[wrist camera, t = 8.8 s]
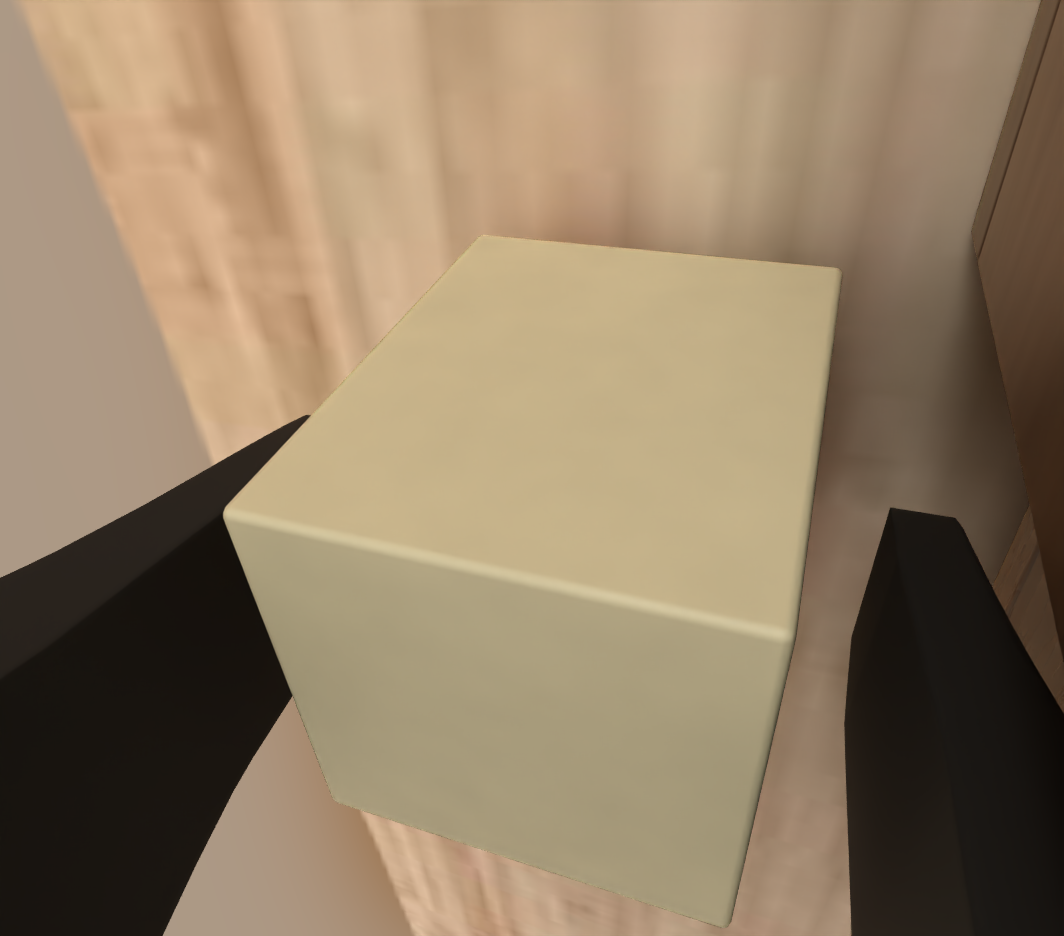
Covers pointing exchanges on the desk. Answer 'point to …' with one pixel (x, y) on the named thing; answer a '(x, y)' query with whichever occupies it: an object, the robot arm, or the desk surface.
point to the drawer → (1031, 606)
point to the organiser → (1032, 281)
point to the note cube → (558, 558)
